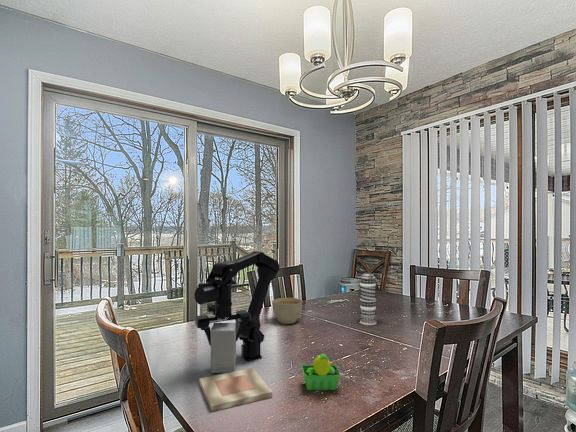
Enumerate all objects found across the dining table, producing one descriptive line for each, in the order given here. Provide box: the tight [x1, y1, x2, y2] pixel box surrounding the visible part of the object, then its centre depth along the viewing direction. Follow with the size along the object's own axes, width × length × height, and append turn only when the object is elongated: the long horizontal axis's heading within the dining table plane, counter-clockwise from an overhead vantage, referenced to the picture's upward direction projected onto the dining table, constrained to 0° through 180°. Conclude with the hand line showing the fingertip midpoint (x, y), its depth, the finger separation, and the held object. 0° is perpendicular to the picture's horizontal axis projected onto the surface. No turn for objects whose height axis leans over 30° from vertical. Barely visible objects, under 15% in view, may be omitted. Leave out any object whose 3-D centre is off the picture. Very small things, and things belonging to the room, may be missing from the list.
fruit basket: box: [301, 353, 341, 391], centre depth 104 cm, size 11×9×11 cm
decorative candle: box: [358, 273, 378, 326], centre depth 172 cm, size 9×9×25 cm
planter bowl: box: [271, 297, 303, 325], centre depth 174 cm, size 16×16×11 cm
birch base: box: [199, 367, 273, 412], centre depth 102 cm, size 18×18×2 cm
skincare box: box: [210, 322, 237, 374], centre depth 115 cm, size 8×7×16 cm
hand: (223, 343), depth 116 cm, fingers open, 9 cm apart
